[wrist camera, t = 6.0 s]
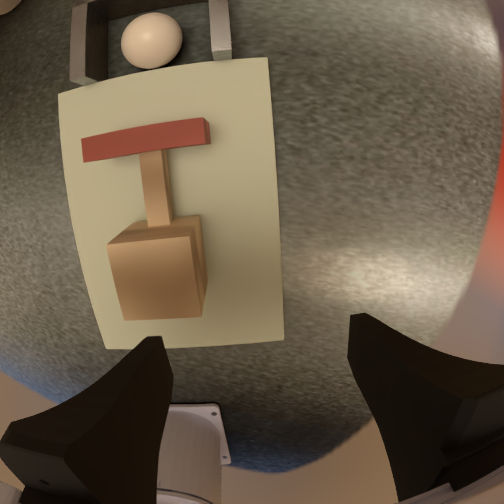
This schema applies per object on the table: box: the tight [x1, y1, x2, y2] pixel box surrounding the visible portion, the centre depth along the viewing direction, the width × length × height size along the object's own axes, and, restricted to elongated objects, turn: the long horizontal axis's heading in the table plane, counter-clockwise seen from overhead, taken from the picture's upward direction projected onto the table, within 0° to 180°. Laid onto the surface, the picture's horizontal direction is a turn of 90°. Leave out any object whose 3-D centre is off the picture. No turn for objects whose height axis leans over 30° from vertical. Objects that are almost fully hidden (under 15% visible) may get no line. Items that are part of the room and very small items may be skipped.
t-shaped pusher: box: [81, 117, 211, 321], centre depth 16 cm, size 9×6×4 cm, turn 4°
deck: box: [58, 58, 284, 349], centre depth 19 cm, size 18×13×2 cm
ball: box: [121, 13, 183, 69], centre depth 15 cm, size 4×4×4 cm
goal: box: [70, 0, 232, 86], centre depth 14 cm, size 6×9×4 cm, turn 94°
